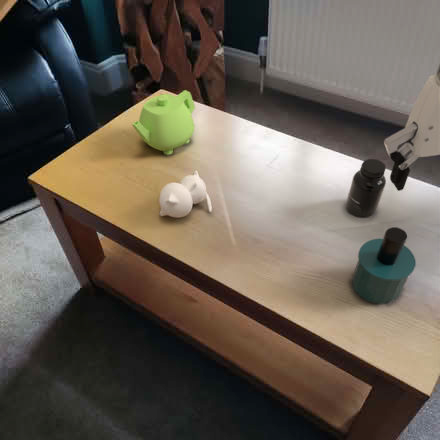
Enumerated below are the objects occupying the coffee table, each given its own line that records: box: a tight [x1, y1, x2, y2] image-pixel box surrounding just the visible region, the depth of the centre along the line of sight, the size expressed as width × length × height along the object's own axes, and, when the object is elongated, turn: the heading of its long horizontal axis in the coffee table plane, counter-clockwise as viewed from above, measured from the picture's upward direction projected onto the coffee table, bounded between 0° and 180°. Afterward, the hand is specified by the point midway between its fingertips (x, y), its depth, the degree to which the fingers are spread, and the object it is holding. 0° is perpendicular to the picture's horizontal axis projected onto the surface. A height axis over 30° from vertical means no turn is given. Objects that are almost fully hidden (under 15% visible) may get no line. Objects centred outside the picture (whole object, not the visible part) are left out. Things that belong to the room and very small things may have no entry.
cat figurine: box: [158, 170, 213, 219], centre depth 97 cm, size 9×11×12 cm
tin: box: [351, 259, 409, 305], centre depth 82 cm, size 9×9×7 cm
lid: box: [357, 226, 417, 281], centre depth 76 cm, size 10×10×7 cm
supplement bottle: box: [345, 158, 387, 219], centre depth 93 cm, size 7×7×12 cm
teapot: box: [131, 89, 196, 155], centre depth 111 cm, size 20×13×13 cm
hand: (426, 180), depth 67 cm, fingers open, 9 cm apart
